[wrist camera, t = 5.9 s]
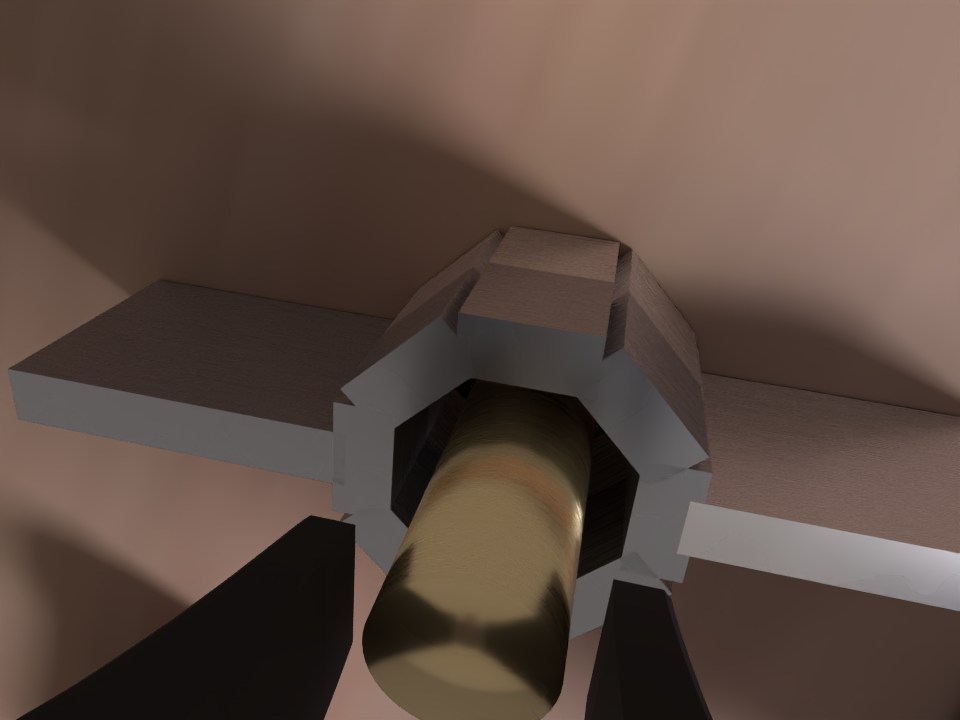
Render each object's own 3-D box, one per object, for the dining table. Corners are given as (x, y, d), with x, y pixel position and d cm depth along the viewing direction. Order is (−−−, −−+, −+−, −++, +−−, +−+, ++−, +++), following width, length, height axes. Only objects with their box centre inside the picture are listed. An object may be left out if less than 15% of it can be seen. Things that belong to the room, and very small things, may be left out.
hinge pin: (608, 341, 14) (575, 604, 8) (591, 449, 16) (552, 753, 9) (483, 324, 15) (362, 563, 9) (475, 431, 16) (362, 711, 10)
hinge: (1056, 308, 14) (1222, 439, 10) (938, 562, 16) (1030, 750, 12) (147, 171, 16) (-20, 231, 12) (172, 412, 19) (40, 528, 15)
